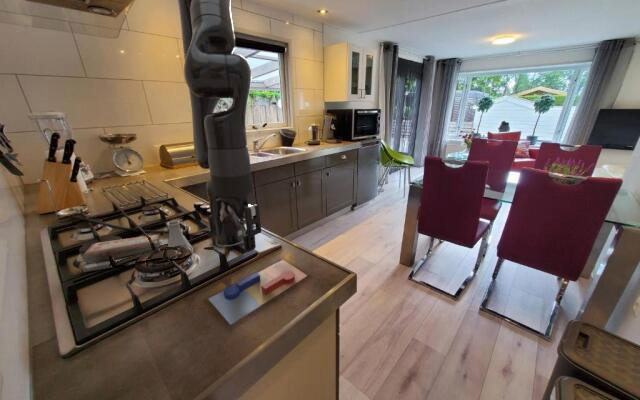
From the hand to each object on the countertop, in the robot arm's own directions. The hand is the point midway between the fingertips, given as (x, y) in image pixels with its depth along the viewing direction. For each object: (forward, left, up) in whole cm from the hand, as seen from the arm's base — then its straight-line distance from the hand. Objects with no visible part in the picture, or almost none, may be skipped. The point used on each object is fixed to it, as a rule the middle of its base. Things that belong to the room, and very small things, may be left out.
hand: (239, 242), depth 54 cm
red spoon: (+8, +1, -12) cm, 14 cm away
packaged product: (-36, +12, -13) cm, 40 cm away
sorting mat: (+4, +1, -13) cm, 13 cm away
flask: (-23, +14, -13) cm, 30 cm away
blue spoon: (0, 0, -12) cm, 12 cm away
